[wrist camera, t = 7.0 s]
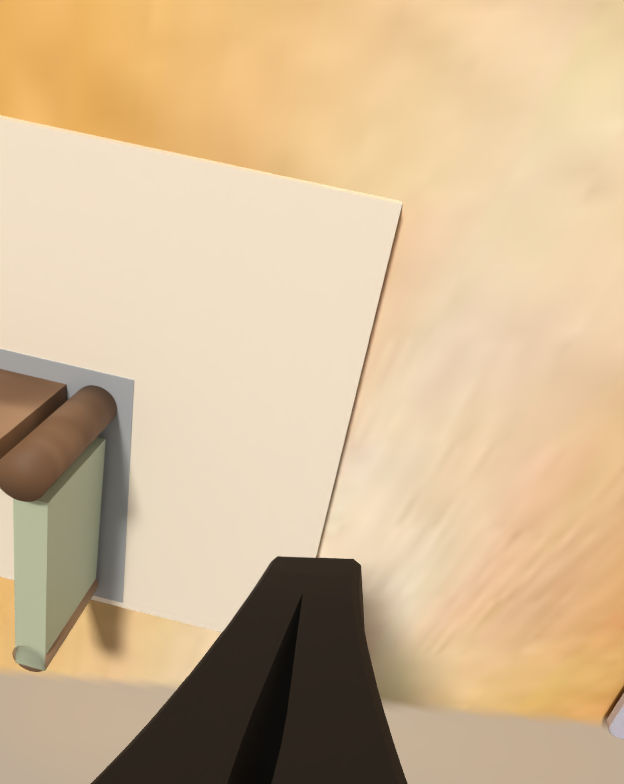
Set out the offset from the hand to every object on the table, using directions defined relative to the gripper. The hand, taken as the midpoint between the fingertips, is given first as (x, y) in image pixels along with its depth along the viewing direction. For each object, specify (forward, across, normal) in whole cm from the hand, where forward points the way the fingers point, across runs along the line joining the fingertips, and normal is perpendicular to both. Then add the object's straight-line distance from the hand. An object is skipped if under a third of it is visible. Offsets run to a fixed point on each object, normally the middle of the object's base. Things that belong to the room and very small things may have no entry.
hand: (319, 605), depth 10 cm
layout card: (+9, +9, +1) cm, 13 cm away
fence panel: (+9, +10, +5) cm, 14 cm away
